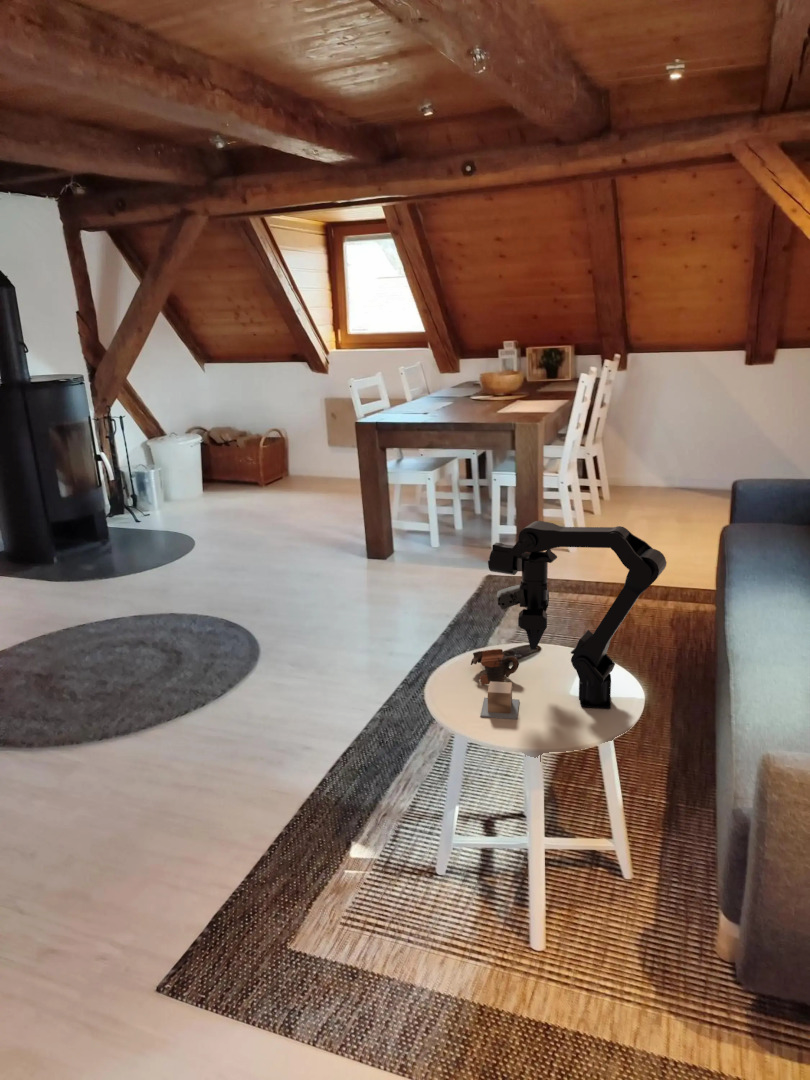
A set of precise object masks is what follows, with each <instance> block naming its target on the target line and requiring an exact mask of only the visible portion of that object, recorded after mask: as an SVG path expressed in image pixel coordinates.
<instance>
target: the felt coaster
mask: <svg viewBox="0 0 810 1080" xmlns="http://www.w3.org/2000/svg"><path fill="white" fill-rule="evenodd" d="M519 706H520V699H515V698H512V707H511V714H508V713H493V712H488V697H485V696H484V697H483V701H482V706H481V709H480V710H481V711H480V718H492V719H493V718H494V719H504V720H507V719H508V720H518V716H519V715H518V714H519V708H520V707H519Z"/></svg>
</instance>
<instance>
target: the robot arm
mask: <svg viewBox="0 0 810 1080" xmlns="http://www.w3.org/2000/svg"><path fill="white" fill-rule="evenodd" d="M491 547H492V548H491V551H490V554H489V558H488V561H487V565H488V566H487V567H488V569H489V571H490V572H492V573H498V574H504V575H511V576H515V575H517V574H518V572H520V571H521V579H520V584H517V585H512V586H509V587H505V588H501V589H499V590H498V591H496V592H497V593H496V597H495V598H496V600H497V605H498V606H499V608H500V610H507V608H510V607H514V606H516V605H519V608H523V609H522V610H521V611H520V612H518V619H517V621H518V623H517V624H518V628H520V629H523V630H524V631H525V632H526V635H527V639H528V645H529V649H530V650H532V651H533V650H534V651H535V650H537V647H538V645H539V643H540V641H541V639H542V637H543V635H544V633H545V631H546V629H547V628H548V613H547V610H548V608H549V601H550V590H549V589H548V573H549V572H548V567H549V566H548V565H549V564H551V563H553V562H554V561H555V560H557V559H558V556H557V555H556V554H555V553H554V552H553V551H552V549H556V548H588V549H589V548H590V549H591V548H597V549H600V548H601V549H605V548H606V549H611V550H612V551H613V552H614V553H615V555H616V556H617V557H618V559H619V560H620V562H621V564H622V565H623V566H624V567H625V568H626V569H627V570H628V572H627V575H626V577H625V581H624V585H623V587H622V589H621V590H620V592H619V594H618V596H617V597H616V599H615V600H614V601H613V603H612V604H611V606H610V607H609V608H608V609H607V610H608V611H607V612H606V614H605V615H604V617H603V618H602V620H601V622H600V623H599V625H598V626H597V628H596V629H595V631H594V632H593V633H592V631H590V630H589V629H587V631H585V632H584V633H583V635H582V636H581V637H580V638H579V640H578V641H577V643H576V645H575V647H574V648H573V649H572V650H571V652H570V654H572V656H571V659H570V662H571V664H572V667H573V668H574V670H575V671H576V673H577V677H578V679H579V680H578V700H579V701H580V707H582V708H592V709H593V708H595V709H607V710H608V709H609V710H610V709H612V703H611V702H612V700H611V696H612V695H611V693H612V692H611V691H612V675H611V672H612V671H613V670H614V668H615V666H616V663H615V662H614V661H613V659H612V658H611V657H610V656H609V655H608V653H607V652H608V649H609V647H610V643H611V640H612V638H613V636H614V635H615V633H616V632H617V630H618V629H619V627H620V626H621V624H622V623H623V622H624V620H625V618H626V617H627V615H628V614H629V612H630V611H631V609H632V608H633V606H634V605H635V604H636V602H637V600H638V599H639V598H640V596H641V595H642V594H643V593H644V592H646V590H647V589H649V587H651V585H652V584H654V582H655V581H657V579H658V578H659V577H660V575H662V572H664V570H666V567H667V559H666V557H665V555H664V554H663V553H662V552H661V551H660V550H657V549H655V548H654V547H652V546H651V545H650V544H648V543H647V542H646V541H645V540H643V539H642V538H640V537H638V536H637V535H634V534H633V533H632V532H631V531H630V530H628V529H627V528H626V527H624V526H622V525H621V526H620V525H619V526H618V525H617V526H614V527H613V526H611V527H608V526H606V527H605V526H603V527H602V526H600V527H599V526H597V527H596V526H595V527H594V526H593V527H591V526H561V525H558V524H556V523H552V522H548V521H543V520H535V521H533V522H531V523H530V524H528V525H527V526H525V527H524V528H523V529H521V530H520V532H519V533H518V540H517V542H516V543H515V545H511V544H505V543H502V542H497V541H496V542H495V543H493V544H492V546H491Z"/></svg>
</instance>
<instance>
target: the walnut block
mask: <svg viewBox="0 0 810 1080" xmlns="http://www.w3.org/2000/svg"><path fill="white" fill-rule="evenodd" d="M487 689H488V690H487V698H488V712H493V713H508V714H511V707H512V699H513V682H510V681H509V682H507V681H504V682H493V681H490V683H489V684H488V687H487Z"/></svg>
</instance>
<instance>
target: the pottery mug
mask: <svg viewBox="0 0 810 1080" xmlns="http://www.w3.org/2000/svg"><path fill="white" fill-rule="evenodd" d="M503 653H504V651H503V649H502V648H495V649H493V648H492V649H486V650H478V651H476V652H473V653H472V655H473V658H472V659H471V661H470V665H471V666H472V665H477V663H478V664H481V666H482V667H484V669H485V672H486V674H482V675H479V679H480V684H481V685H482V686H483V685H484V686H485V685H489V683H490V681H493V682H505V678H506V679H507V678H509V677H510V675H512V674H514V673H516V671H517V670H518V668H519V666H520V663H519V660H518V658H517V657H516V656H515V655H505V654H503ZM501 662H502V663H501ZM511 662H512V666H511V667H510V663H511Z"/></svg>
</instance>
